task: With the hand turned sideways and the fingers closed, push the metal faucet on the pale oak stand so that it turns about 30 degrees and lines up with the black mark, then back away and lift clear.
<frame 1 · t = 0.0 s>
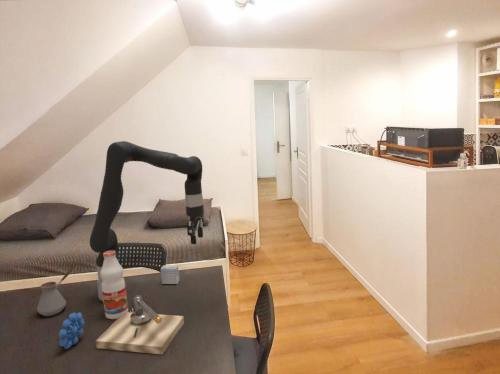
hand: (197, 240, 155), 29 cm above the table, tool pointing down, fingers open, 8 cm apart
metal faucet: (147, 316, 136), point 8 cm above the table, hinge at 0.0°
stand: (142, 334, 138), on the table
coffee pot: (61, 306, 164), on the table
medicine box: (170, 283, 182), on the table
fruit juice: (117, 314, 155), on the table
grapes: (72, 344, 135), on the table
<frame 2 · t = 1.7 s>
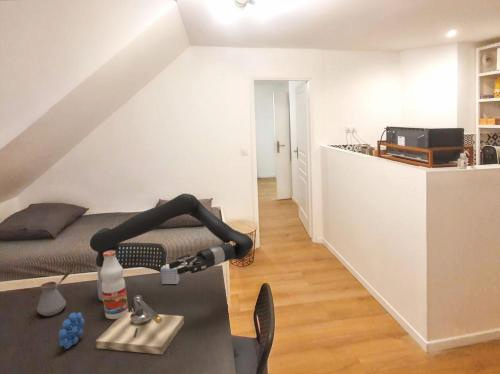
hand: (173, 269, 136), 25 cm above the table, tool horizontal, fingers open, 6 cm apart
nothing on the table moved.
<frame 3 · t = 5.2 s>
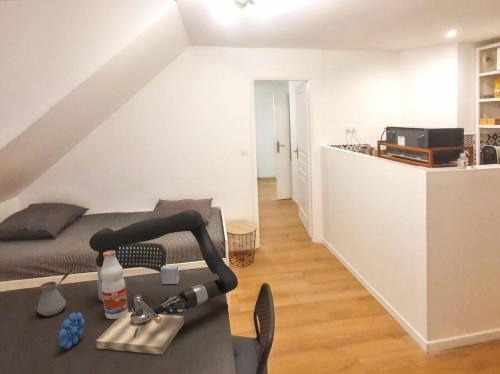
hand: (152, 312, 133), 11 cm above the table, tool horizontal, fingers closed
metal faucet: (147, 316, 136), point 8 cm above the table, hinge at 0.2°, touching gripper
everything else where it was.
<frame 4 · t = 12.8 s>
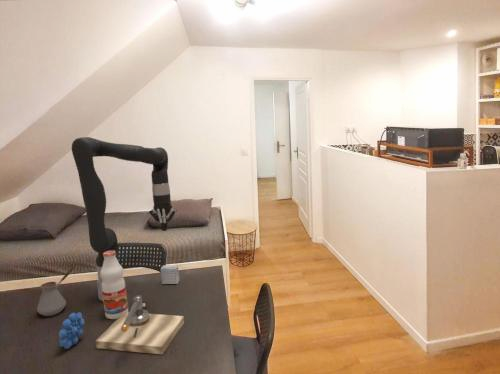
hand: (164, 230, 163), 32 cm above the table, tool pointing down, fingers closed
metal faucet: (133, 319, 134), point 8 cm above the table, hinge at 34.1°
everything else where it was.
at the end: metal faucet at +34° (first picture: +0°); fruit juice moved 0.2 cm from its start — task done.
